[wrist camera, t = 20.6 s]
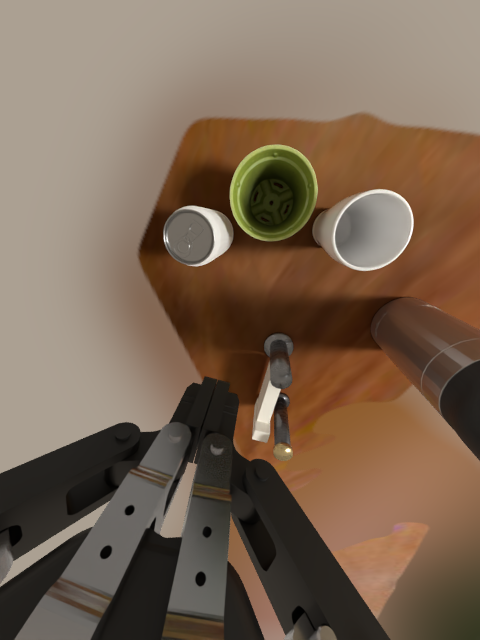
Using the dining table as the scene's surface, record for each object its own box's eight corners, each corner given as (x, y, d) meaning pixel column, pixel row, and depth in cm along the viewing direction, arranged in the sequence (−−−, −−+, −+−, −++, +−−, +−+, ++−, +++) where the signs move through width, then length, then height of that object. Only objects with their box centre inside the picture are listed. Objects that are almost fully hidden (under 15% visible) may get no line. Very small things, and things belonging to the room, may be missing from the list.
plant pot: (251, 152, 32) (245, 129, 24) (317, 177, 32) (333, 163, 24) (230, 224, 36) (219, 224, 28) (289, 246, 36) (295, 253, 28)
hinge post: (296, 335, 41) (303, 368, 32) (289, 360, 43) (294, 397, 34) (267, 330, 41) (266, 360, 32) (261, 354, 43) (259, 390, 34)
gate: (268, 359, 41) (268, 386, 34) (282, 362, 41) (285, 391, 34) (254, 406, 45) (252, 439, 38) (267, 409, 45) (266, 442, 38)
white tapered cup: (309, 257, 36) (333, 278, 22) (303, 208, 34) (327, 199, 20) (356, 247, 35) (414, 263, 21) (354, 196, 33) (417, 177, 19)
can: (184, 236, 37) (148, 242, 26) (208, 200, 35) (180, 189, 24) (217, 264, 38) (196, 280, 27) (242, 230, 36) (231, 233, 25)
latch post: (291, 394, 46) (298, 448, 35) (286, 409, 47) (292, 464, 36) (272, 390, 46) (273, 442, 35) (268, 405, 47) (268, 459, 37)
